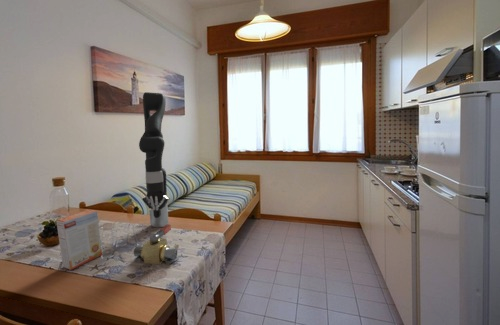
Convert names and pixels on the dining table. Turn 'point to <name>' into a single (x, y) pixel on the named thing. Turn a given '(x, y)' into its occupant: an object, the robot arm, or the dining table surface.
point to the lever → (159, 234)
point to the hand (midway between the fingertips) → (157, 217)
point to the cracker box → (79, 238)
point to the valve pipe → (155, 252)
